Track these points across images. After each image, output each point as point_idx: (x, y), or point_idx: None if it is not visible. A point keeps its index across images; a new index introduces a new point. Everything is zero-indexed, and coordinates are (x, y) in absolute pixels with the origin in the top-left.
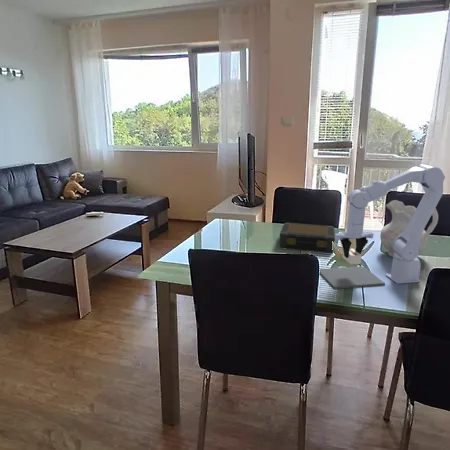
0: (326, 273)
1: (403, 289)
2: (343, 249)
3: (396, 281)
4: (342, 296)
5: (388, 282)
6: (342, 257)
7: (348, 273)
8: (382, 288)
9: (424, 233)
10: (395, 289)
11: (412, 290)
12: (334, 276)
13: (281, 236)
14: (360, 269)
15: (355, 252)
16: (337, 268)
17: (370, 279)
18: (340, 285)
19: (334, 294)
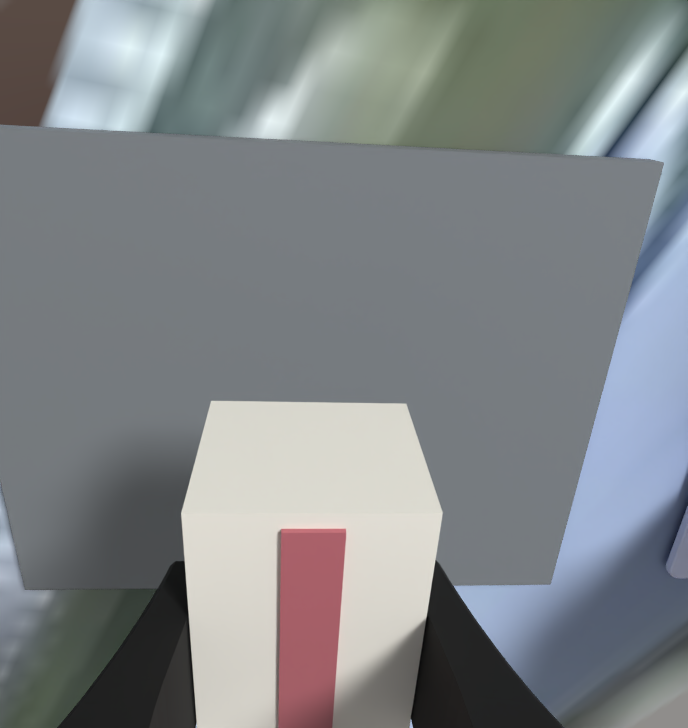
0: (27, 294)
1: (627, 641)
2: (111, 665)
3: (682, 560)
4: (65, 680)
5: (616, 532)
6: (210, 409)
7: (323, 342)
8: (477, 612)
9: None
10: (566, 635)
11: (677, 659)
12: (108, 389)
13: None
14: (548, 257)
15: (360, 693)
16: (252, 160)
17: (471, 510)
18: (96, 577)
19: (4, 651)
